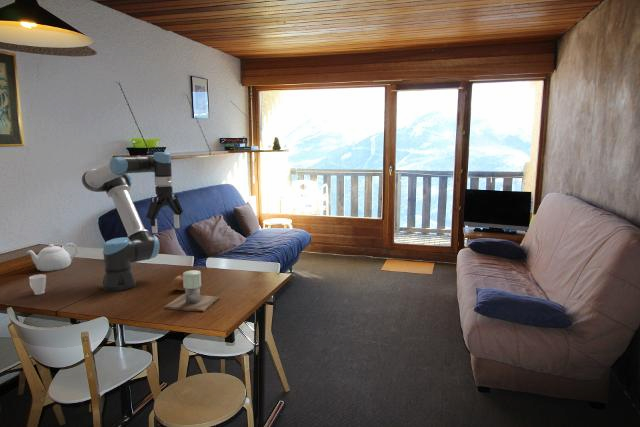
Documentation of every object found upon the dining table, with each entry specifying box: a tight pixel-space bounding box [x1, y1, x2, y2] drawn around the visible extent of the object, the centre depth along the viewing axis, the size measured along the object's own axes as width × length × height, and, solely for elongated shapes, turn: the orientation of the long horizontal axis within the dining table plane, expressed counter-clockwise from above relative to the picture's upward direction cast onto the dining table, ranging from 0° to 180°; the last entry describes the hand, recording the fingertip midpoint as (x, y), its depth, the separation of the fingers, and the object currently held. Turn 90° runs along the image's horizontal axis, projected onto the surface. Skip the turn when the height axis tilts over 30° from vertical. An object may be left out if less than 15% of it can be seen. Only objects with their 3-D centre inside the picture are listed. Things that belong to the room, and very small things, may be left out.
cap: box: [182, 269, 202, 289], centre depth 190 cm, size 7×7×6 cm
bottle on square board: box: [164, 286, 221, 313], centre depth 191 cm, size 18×16×12 cm
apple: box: [173, 274, 185, 291], centre depth 210 cm, size 8×8×8 cm
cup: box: [28, 273, 47, 295], centre depth 206 cm, size 7×10×8 cm
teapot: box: [26, 242, 79, 272], centre depth 248 cm, size 19×18×14 cm
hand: (166, 230), depth 207 cm, fingers open, 13 cm apart
